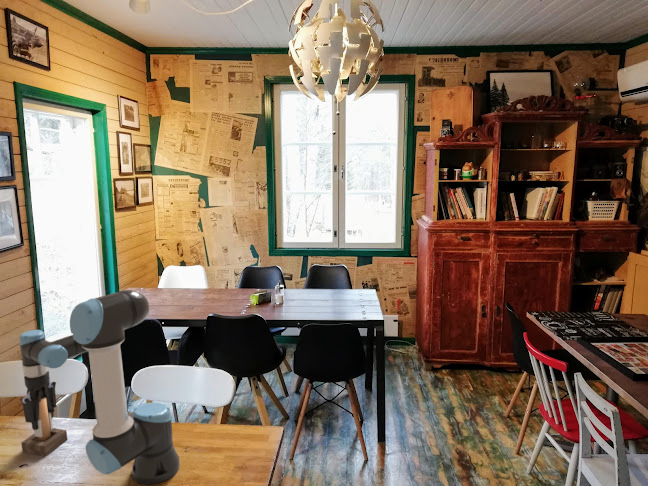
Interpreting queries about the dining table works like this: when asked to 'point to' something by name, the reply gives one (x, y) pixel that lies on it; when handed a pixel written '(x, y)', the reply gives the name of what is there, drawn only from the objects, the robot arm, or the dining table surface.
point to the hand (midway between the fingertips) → (43, 432)
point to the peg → (44, 420)
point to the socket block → (44, 443)
